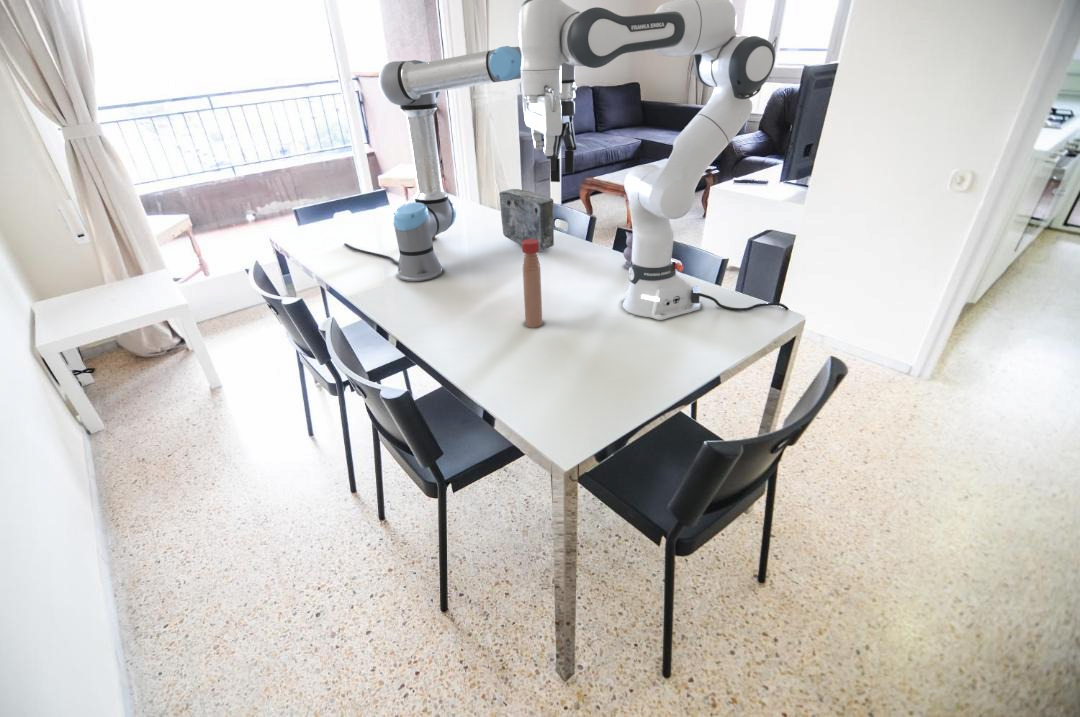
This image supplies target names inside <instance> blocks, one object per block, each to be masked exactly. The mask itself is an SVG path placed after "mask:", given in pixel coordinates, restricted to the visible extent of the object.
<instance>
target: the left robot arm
mask: <svg viewBox="0 0 1080 717" xmlns="http://www.w3.org/2000/svg"><path fill="white" fill-rule="evenodd" d="M521 63H522V55H521V51H520V46H509V45H506V46H500V47H497V48H494V49H491V50H490V49H489V50H484V51H478V52H474V53H469V54H463V55H457V56H453V57H447V58H442V59H437V60H432V61H425V60H416V59H412V60H400V61H399V60H398V61H397V60H395V61H391V62H388V63H386V64H385V65H384V66H383V67H382V68H381V70H380V72H379V75H378V87H379V89H380V92H381V94H382V95H383V97H384V98H385V99H386V100H387V101H388V102H390V103H392V104H393V105H397V106H399V107H400V111H401V112H402V113H403V114H404V115H405V116H406V122H407V128H408V134H409V141H410V149H411V155H412V162H413V168H414V174H415V182H416V187H417V192H416V193H415V194H414V202H409V203H407V204H406V203H404V204H402V205H400V206H398V207H396V208H395V209H394V210H393V213H392V219H393V221H392V224H393V227H394V230H395V231H394V232H395V236H396V241H397V247H398V251H399V259H398V261H397V260H396V259H394V258H393V257H391V256H389V255H385V254H381V253H377V252H372V251H368V250H364V249H361V248H356V247H354V246H352V245H350V244H348V243H343V245H344V246H345V247H347V248H348V249H350V250H352V251H355V252H359V253H362V254H366V255H371V256H375V257H380V258H384V259H388V260H390V261H391V262H393V264H395V265H397V276H398V278H399V279H400V280H402V281H406V282H413V283H414V282H425V281H429V280H432V279H435V278H438V277H439V276H440V275H441V274H442V273H443V268H442V264H441V263H440V260H439V259H438V257H439V256H438V253H436V252H435V250H434V243H433V240H432V237H434V236H435V237H436V236H438V235H439V234H441V233H444V232H446V231H447V230H449V228H451V227H452V226H453V225H454V223H455V221H456V217H457V212H456V207H455V205H454V202H452V201H451V199H450V198H449V194H448V192H447V191H445V190H444V188H443V180H442V173H441V165H440V157H439V150H438V142H437V134H436V133H437V132H436V126H435V119H434V118H435V116H434V114H435V112H436V111H437V109H438V105H437V104H438V103H437V99H438V97H439V94H440V93H441V92H444V91H445V92H446V91H451V90H457V89H458V90H459V89H462V88H469V87H475V86H481V85H487V84H493V83H501V82H509V81H513V80H521V71H522V70H521ZM577 90H578V89H577V86H576V66H574V65H569V64H567V63H564V62H563V63H562V65H561V93H560V94H556V96H558V97H559V98H560V102H561V113H562V132H561V135H557V136H555V142H554V146H553V155H552V156H546V159H547V160H549V168H550V170H549V172H550V173H549V174H550V183H560V182H561V165H560V164H561V159H560V158H559V156H560V153H561V152H560V151H561V148H562V147H561V146H562V143H564V146H565V150H564V173H568V174H569V173H570V174H574V173H575V151H577V149H578V146H577V141H576V135H575V127H574V115H575V114H576V101H575V100H574V99H575V98H576V91H577Z"/></svg>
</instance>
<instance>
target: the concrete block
mask: <svg viewBox="0 0 1080 717" xmlns="http://www.w3.org/2000/svg"><path fill="white" fill-rule="evenodd" d="M498 196H499V206H500V216H501V226H502V234H503V236H504V237H506V238H507V239H509V240H511V241H512V242H514V243H515V244H518V245H519V246H521V247H522V241H523V240H526V239H536V240H538V243H539V252H542V251H545V250H547V249H549V248H551V247H554V245H555V233H554V232H555V230H554V229H555V228H554V226H555V225H554V221H555V220H554V217H555V216H554V215H555V214H554V213H555V212H554V208H555V207H554V199H553V198H552V197H549V196H547V195H543V194H541V193H537V192H533V191H530V190H524V189H520V188H510V189H505V190H503V191H500V192H499V193H498Z"/></svg>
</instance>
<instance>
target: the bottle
mask: <svg viewBox="0 0 1080 717" xmlns="http://www.w3.org/2000/svg"><path fill="white" fill-rule="evenodd" d="M522 262H523V263H522V282H523V300H524V317H525V318H524V319H525V326H526V327H527V328H532V329H533V328H539V327H541V326H542V325H543V305H542V304H543V302H542V278H541V277H542V276H541V263H540V260H539V256H538V253H534V254H526V253H524V256H523V261H522Z"/></svg>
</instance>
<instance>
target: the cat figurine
mask: <svg viewBox="0 0 1080 717" xmlns="http://www.w3.org/2000/svg"><path fill="white" fill-rule="evenodd" d="M625 234H626V239H625V245H626V247H625V248H624V250H623V254H622V255H623V257H624V259H625V260H626V261H625V263H624V267H625V268H626V269H627V270H629V265H630V260H631V259H632V241H633V232H632V233H631V232H628V231H625Z"/></svg>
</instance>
